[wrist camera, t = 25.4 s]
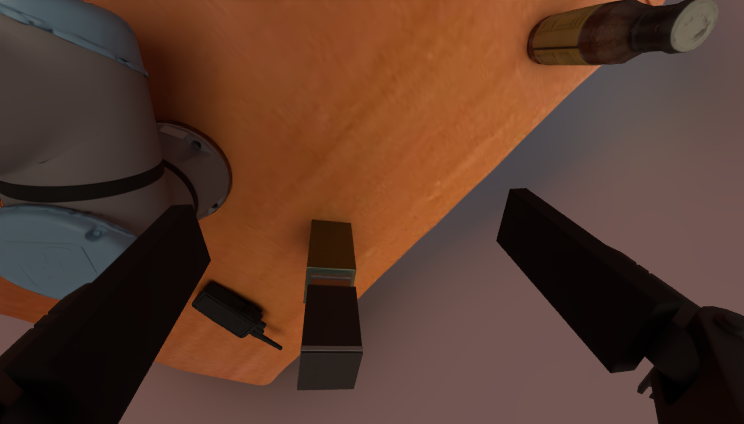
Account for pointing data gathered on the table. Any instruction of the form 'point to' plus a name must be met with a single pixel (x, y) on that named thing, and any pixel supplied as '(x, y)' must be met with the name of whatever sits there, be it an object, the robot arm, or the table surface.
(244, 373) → the table surface
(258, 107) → the table surface
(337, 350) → the dark lidded box
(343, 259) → the olive square canister
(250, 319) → the walkie-talkie
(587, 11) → the sauce bottle
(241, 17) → the table surface
